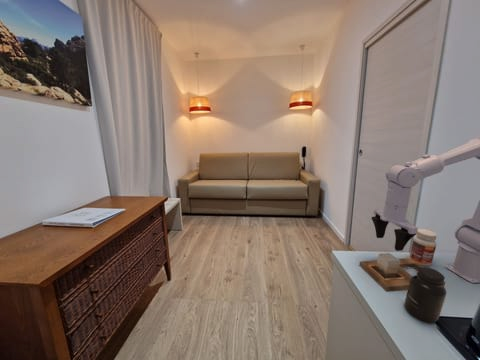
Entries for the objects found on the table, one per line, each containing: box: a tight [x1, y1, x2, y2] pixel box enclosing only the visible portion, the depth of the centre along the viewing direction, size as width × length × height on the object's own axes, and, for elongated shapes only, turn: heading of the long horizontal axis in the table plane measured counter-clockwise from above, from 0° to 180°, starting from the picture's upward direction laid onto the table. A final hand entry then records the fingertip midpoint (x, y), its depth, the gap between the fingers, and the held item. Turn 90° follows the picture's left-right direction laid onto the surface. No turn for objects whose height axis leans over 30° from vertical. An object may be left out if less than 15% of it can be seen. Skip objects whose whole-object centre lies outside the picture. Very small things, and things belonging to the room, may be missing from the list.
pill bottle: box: [409, 228, 438, 267], centre depth 74 cm, size 6×6×11 cm
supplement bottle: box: [403, 266, 447, 324], centre depth 53 cm, size 7×7×12 cm
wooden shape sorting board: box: [359, 257, 446, 292], centre depth 68 cm, size 19×12×2 cm, turn 97°
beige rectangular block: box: [375, 252, 400, 279], centre depth 67 cm, size 4×4×7 cm
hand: (388, 243), depth 69 cm, fingers open, 7 cm apart
